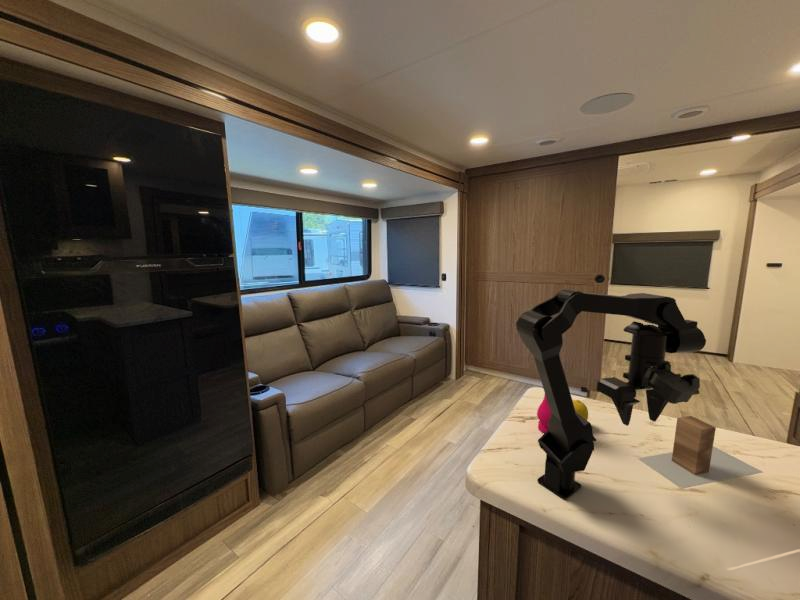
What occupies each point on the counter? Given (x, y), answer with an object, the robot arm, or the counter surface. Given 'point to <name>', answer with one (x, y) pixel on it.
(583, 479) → the counter surface
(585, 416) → the lemon
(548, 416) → the pepper mill
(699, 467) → the walnut block
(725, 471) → the strip
